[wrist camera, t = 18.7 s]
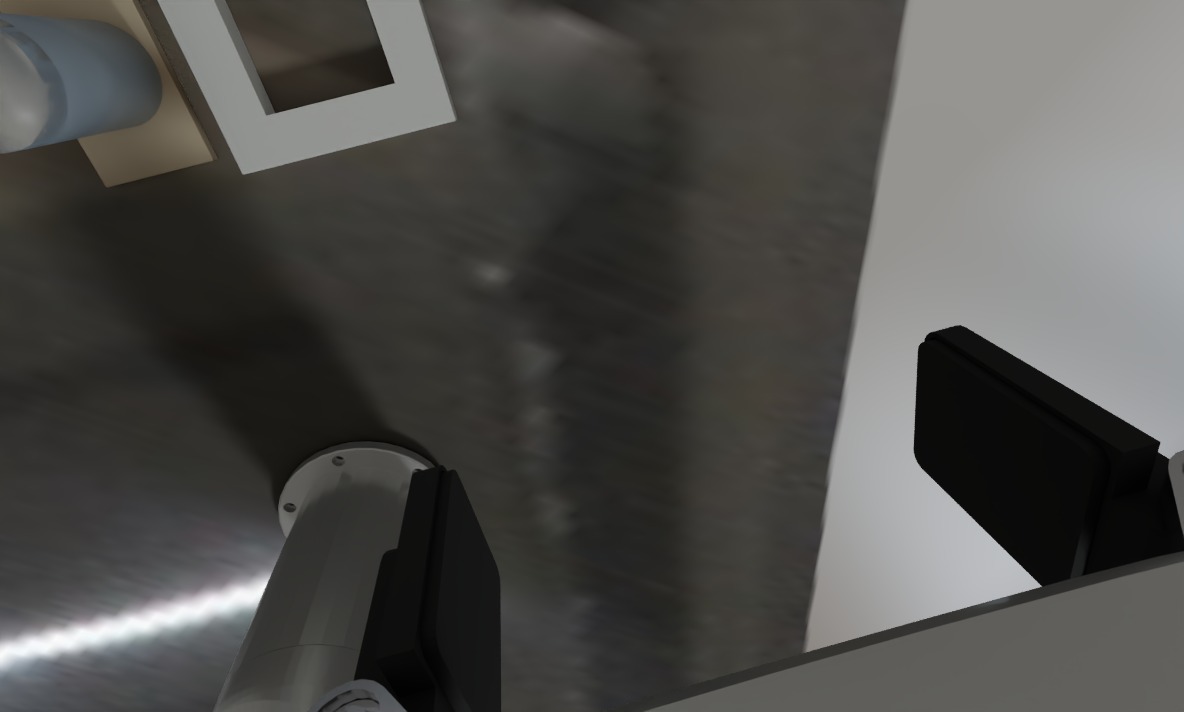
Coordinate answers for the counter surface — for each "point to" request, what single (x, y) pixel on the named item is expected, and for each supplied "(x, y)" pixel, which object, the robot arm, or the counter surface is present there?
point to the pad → (162, 138)
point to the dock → (320, 126)
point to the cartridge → (71, 80)
